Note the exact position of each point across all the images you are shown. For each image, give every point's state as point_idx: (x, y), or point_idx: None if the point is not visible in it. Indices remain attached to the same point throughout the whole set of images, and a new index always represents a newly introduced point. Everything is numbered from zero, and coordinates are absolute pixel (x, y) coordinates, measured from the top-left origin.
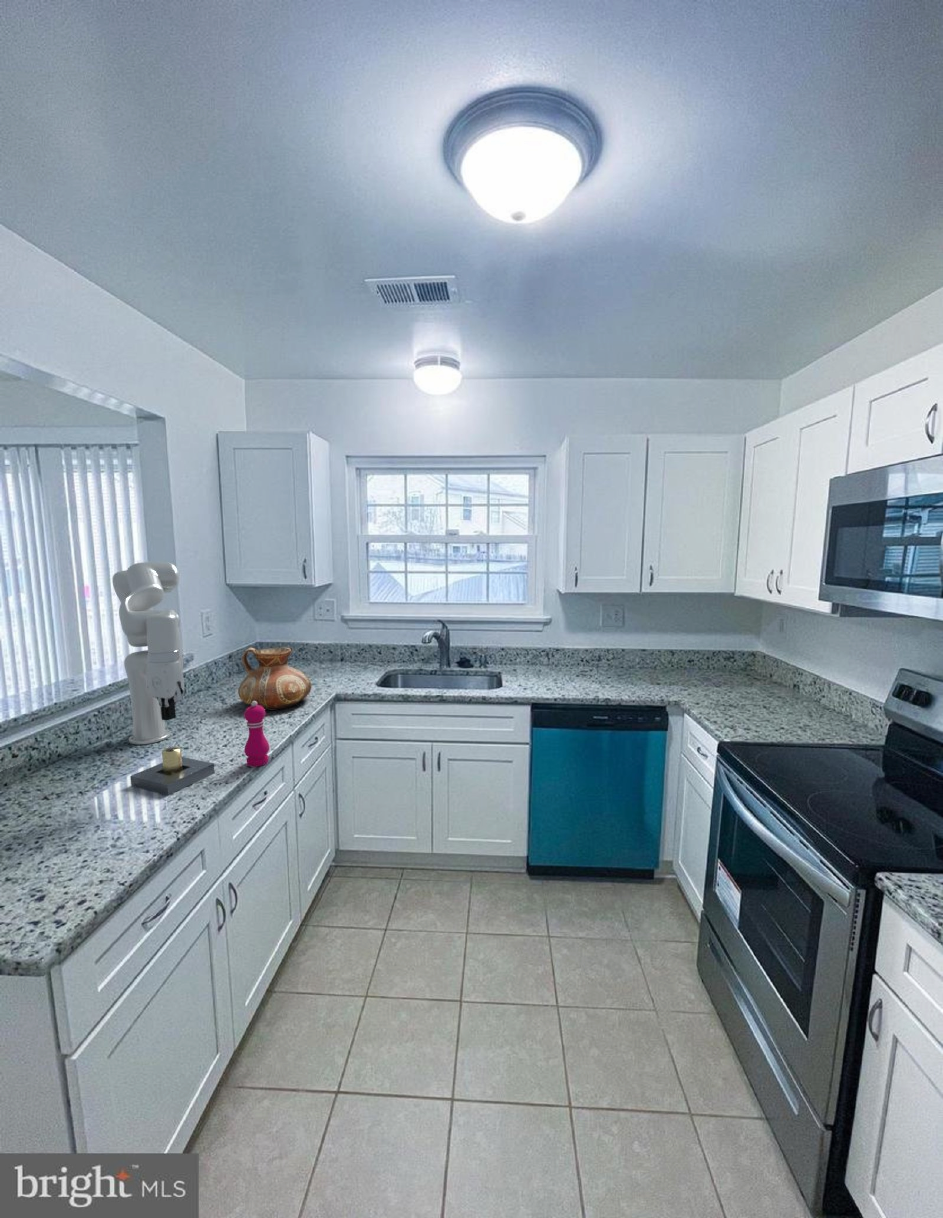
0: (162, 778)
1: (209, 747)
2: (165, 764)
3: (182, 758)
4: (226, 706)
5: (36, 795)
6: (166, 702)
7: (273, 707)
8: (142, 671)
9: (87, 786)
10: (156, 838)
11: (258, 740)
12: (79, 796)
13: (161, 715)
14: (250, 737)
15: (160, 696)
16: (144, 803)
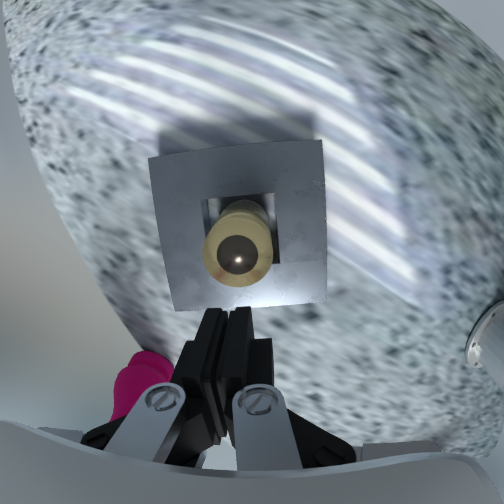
0: (204, 175)
1: (343, 378)
2: (232, 211)
3: (297, 296)
4: (445, 449)
5: (451, 44)
6: (145, 423)
7: None
8: None
9: (414, 100)
10: (34, 71)
11: (114, 401)
12: (373, 56)
13: (246, 322)
14: (125, 404)
15: (87, 462)
16: (171, 101)
